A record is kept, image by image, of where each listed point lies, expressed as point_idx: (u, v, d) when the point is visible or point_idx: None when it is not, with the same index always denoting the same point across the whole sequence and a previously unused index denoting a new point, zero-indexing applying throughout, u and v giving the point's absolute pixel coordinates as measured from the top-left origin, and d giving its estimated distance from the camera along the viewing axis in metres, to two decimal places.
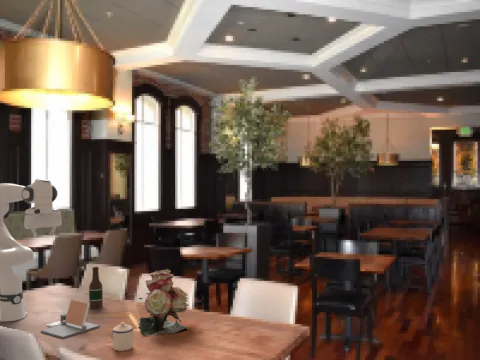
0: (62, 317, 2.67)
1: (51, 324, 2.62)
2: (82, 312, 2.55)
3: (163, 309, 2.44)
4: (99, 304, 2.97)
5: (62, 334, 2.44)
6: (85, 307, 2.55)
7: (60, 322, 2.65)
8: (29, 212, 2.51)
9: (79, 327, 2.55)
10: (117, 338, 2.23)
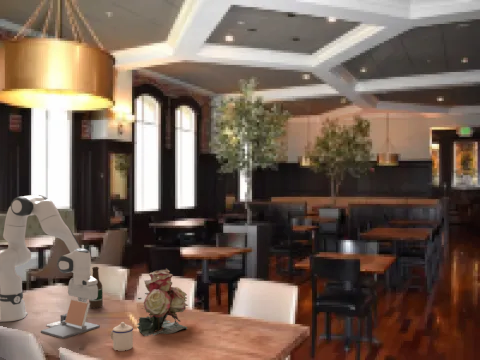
0: (62, 317, 2.67)
1: (51, 324, 2.62)
2: (82, 312, 2.55)
3: (162, 309, 2.44)
4: (99, 304, 2.97)
5: (62, 334, 2.44)
6: (85, 307, 2.55)
7: (60, 322, 2.65)
8: (94, 282, 2.57)
9: (79, 327, 2.55)
10: (117, 338, 2.23)
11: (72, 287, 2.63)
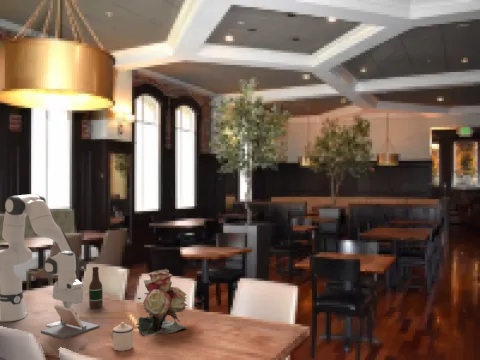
0: None
1: (51, 324, 2.62)
2: (72, 317, 2.50)
3: (162, 309, 2.44)
4: (99, 304, 2.97)
5: (62, 334, 2.44)
6: (71, 314, 2.48)
7: (60, 322, 2.65)
8: (79, 286, 2.49)
9: (79, 327, 2.55)
10: (117, 338, 2.23)
11: (57, 290, 2.55)
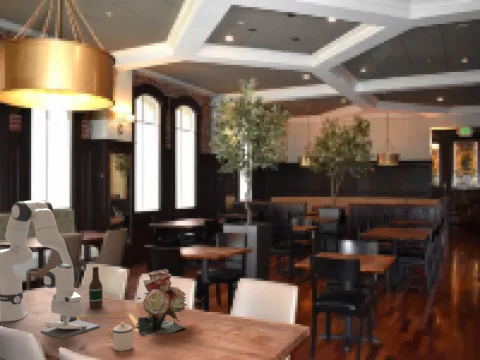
0: None
1: None
2: None
3: (161, 309, 2.44)
4: (99, 304, 2.97)
5: (62, 334, 2.44)
6: (65, 328, 2.45)
7: None
8: (77, 299, 2.48)
9: None
10: (117, 338, 2.23)
11: (55, 304, 2.54)
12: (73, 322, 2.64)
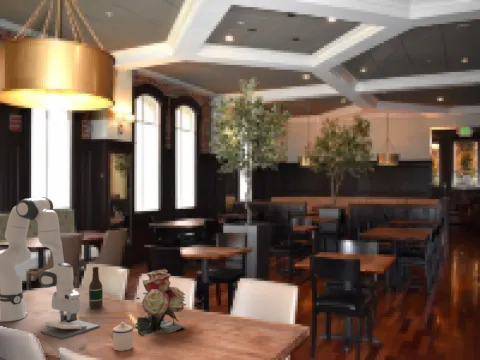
0: (62, 317, 2.67)
1: None
2: None
3: (161, 309, 2.45)
4: (99, 304, 2.97)
5: (62, 334, 2.44)
6: (65, 328, 2.45)
7: None
8: (76, 296, 2.64)
9: None
10: (117, 338, 2.23)
11: (55, 300, 2.71)
12: (73, 322, 2.64)
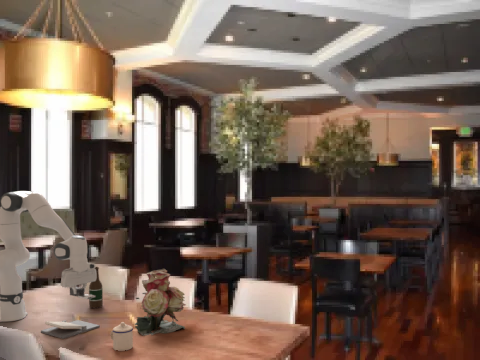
0: (81, 290, 2.60)
1: (88, 296, 2.56)
2: None
3: (160, 309, 2.45)
4: (99, 304, 2.97)
5: (62, 334, 2.44)
6: (65, 328, 2.45)
7: (84, 294, 2.60)
8: None
9: None
10: (117, 338, 2.23)
11: (70, 277, 2.55)
12: (73, 322, 2.64)
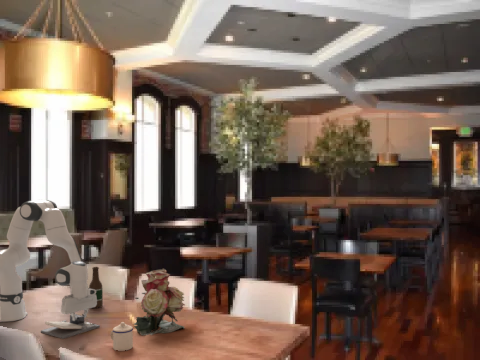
0: (82, 318, 2.60)
1: (89, 325, 2.56)
2: None
3: (160, 308, 2.45)
4: (99, 304, 2.97)
5: (62, 334, 2.44)
6: (65, 328, 2.45)
7: (84, 323, 2.60)
8: None
9: None
10: (117, 338, 2.23)
11: (71, 304, 2.55)
12: None
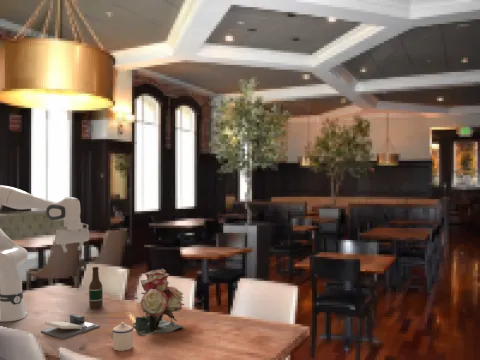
0: (82, 318, 2.60)
1: (89, 325, 2.56)
2: None
3: (159, 308, 2.45)
4: (99, 304, 2.97)
5: (62, 334, 2.44)
6: (65, 328, 2.45)
7: (84, 323, 2.60)
8: None
9: None
10: (117, 338, 2.23)
11: (64, 235, 2.71)
12: None
